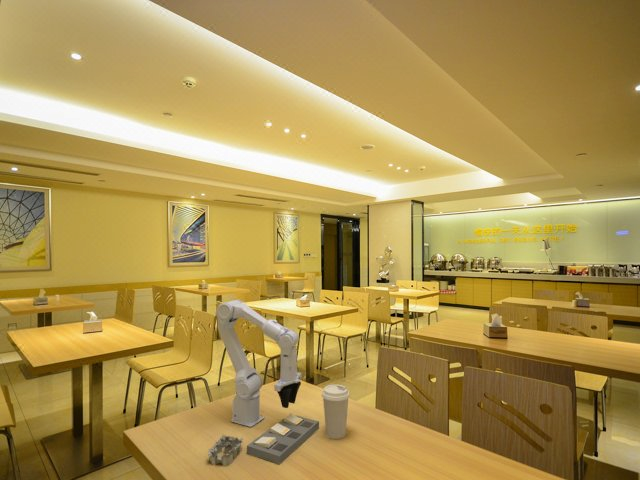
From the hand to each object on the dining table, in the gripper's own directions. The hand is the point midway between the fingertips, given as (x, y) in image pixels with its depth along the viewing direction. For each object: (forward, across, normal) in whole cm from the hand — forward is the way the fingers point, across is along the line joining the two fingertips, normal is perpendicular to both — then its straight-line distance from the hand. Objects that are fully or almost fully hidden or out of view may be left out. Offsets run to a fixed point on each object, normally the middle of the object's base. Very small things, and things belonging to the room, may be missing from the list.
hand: (288, 405), depth 124 cm
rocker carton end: (+5, -16, -2) cm, 17 cm away
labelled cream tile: (+5, 0, -2) cm, 5 cm away
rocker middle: (+5, -8, -2) cm, 10 cm away
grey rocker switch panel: (+7, -8, -4) cm, 12 cm away
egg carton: (+8, -24, +7) cm, 26 cm away
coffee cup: (+8, +3, -17) cm, 19 cm away
